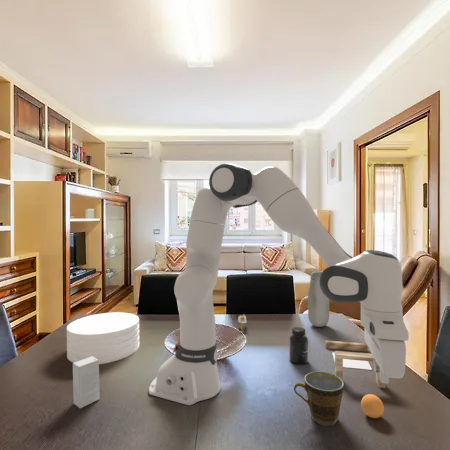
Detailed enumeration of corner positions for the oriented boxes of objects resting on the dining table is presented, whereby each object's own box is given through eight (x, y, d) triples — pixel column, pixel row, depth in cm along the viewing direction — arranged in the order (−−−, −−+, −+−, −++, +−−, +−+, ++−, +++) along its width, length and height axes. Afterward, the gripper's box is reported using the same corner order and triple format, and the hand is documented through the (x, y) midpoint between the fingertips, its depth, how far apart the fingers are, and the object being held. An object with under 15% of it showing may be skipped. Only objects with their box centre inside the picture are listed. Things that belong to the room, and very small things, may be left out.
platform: (230, 335, 140) (230, 321, 140) (230, 322, 158) (230, 310, 158) (255, 335, 140) (255, 321, 140) (253, 322, 158) (252, 310, 158)
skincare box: (92, 394, 92) (92, 355, 92) (100, 399, 89) (99, 359, 89) (72, 403, 87) (72, 362, 87) (79, 409, 84) (78, 367, 84)
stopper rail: (325, 348, 124) (325, 342, 124) (325, 346, 126) (325, 340, 126) (367, 351, 120) (367, 345, 120) (366, 349, 122) (366, 343, 122)
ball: (363, 421, 78) (363, 400, 78) (359, 408, 83) (359, 388, 83) (386, 424, 77) (386, 403, 77) (380, 411, 82) (380, 391, 82)
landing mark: (335, 366, 108) (335, 366, 108) (332, 352, 120) (332, 352, 120) (372, 370, 105) (372, 369, 105) (364, 355, 117) (364, 354, 117)
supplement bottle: (308, 365, 109) (308, 332, 109) (289, 364, 110) (289, 331, 110) (307, 357, 116) (307, 326, 115) (289, 356, 117) (289, 325, 117)
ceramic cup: (335, 405, 85) (334, 370, 85) (351, 430, 75) (350, 390, 75) (289, 407, 84) (289, 371, 84) (299, 431, 74) (299, 391, 74)
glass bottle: (310, 321, 157) (309, 268, 157) (330, 324, 153) (330, 269, 152) (306, 327, 148) (305, 271, 148) (328, 330, 144) (327, 272, 144)
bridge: (385, 388, 94) (385, 358, 94) (336, 382, 97) (336, 354, 97) (382, 383, 96) (382, 354, 96) (335, 378, 100) (334, 350, 100)
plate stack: (52, 366, 111) (52, 335, 111) (85, 337, 139) (85, 312, 139) (128, 364, 112) (128, 333, 112) (146, 336, 140) (145, 311, 140)
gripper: (358, 306, 82) (358, 357, 82) (377, 333, 62) (378, 400, 62) (383, 308, 80) (383, 359, 80) (411, 336, 60) (412, 404, 60)
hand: (381, 377), depth 71 cm, fingers closed
